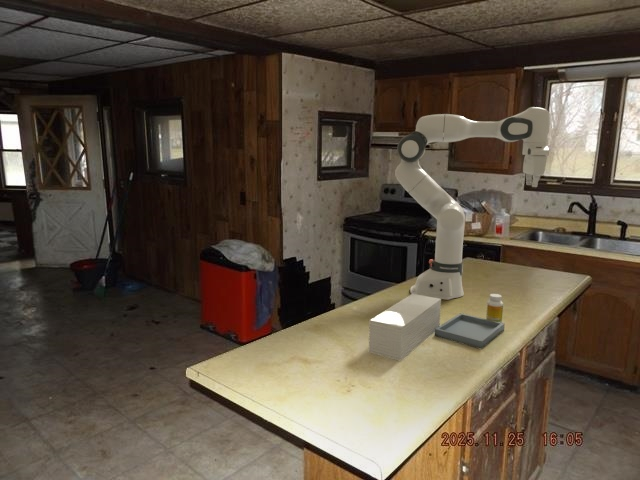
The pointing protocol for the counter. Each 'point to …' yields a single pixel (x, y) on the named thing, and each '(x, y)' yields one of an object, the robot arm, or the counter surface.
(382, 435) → the counter surface
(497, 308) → the supplement bottle
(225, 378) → the counter surface
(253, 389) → the counter surface
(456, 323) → the slate tray
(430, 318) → the light grey rectangular block
